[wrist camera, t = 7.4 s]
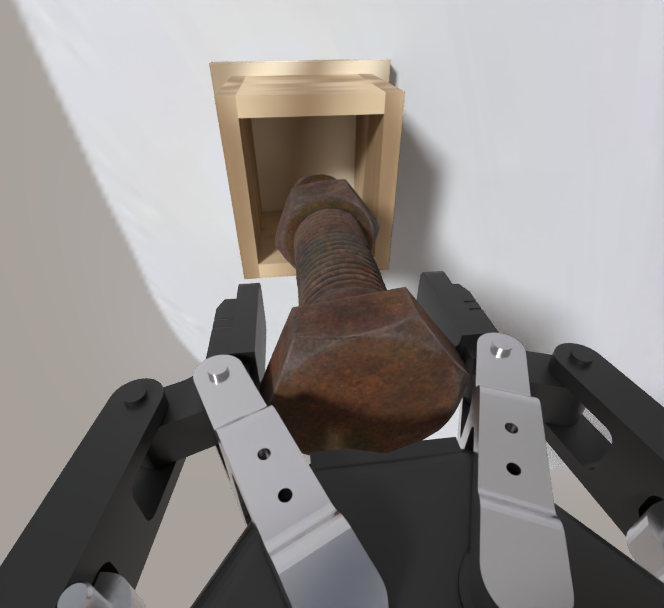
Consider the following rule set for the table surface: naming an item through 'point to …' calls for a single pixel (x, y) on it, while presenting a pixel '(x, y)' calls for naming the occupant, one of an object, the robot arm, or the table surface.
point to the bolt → (353, 336)
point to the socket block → (305, 143)
